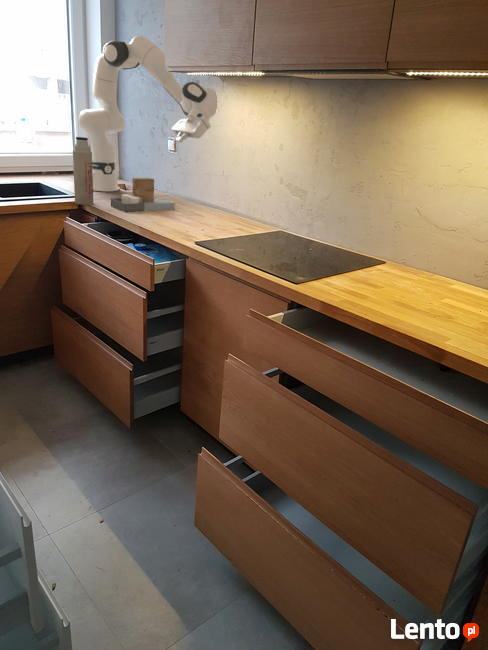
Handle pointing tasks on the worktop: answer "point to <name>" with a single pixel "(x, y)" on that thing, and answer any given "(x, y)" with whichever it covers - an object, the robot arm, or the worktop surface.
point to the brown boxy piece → (143, 189)
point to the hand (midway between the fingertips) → (177, 141)
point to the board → (159, 205)
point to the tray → (126, 205)
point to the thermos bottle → (83, 172)
